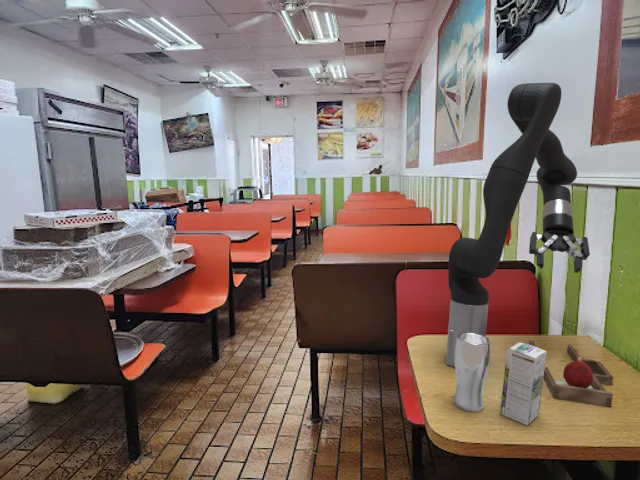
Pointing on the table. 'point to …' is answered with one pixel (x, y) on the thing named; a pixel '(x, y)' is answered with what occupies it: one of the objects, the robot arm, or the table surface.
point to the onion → (578, 374)
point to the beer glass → (471, 370)
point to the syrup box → (523, 383)
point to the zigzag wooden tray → (578, 394)
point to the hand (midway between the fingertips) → (559, 269)
